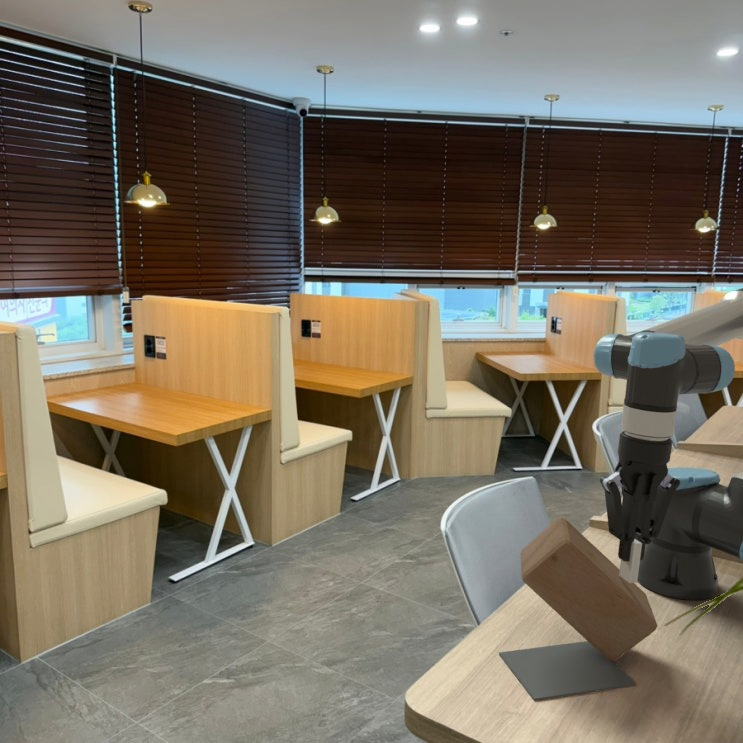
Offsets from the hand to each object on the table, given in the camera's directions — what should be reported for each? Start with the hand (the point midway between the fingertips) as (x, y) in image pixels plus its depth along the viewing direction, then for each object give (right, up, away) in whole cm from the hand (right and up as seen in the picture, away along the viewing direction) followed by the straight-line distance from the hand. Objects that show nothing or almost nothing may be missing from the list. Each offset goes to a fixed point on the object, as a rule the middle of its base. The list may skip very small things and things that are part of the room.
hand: (627, 578), depth 109 cm
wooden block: (+1, -9, +2) cm, 9 cm away
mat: (-10, -14, -2) cm, 17 cm away
